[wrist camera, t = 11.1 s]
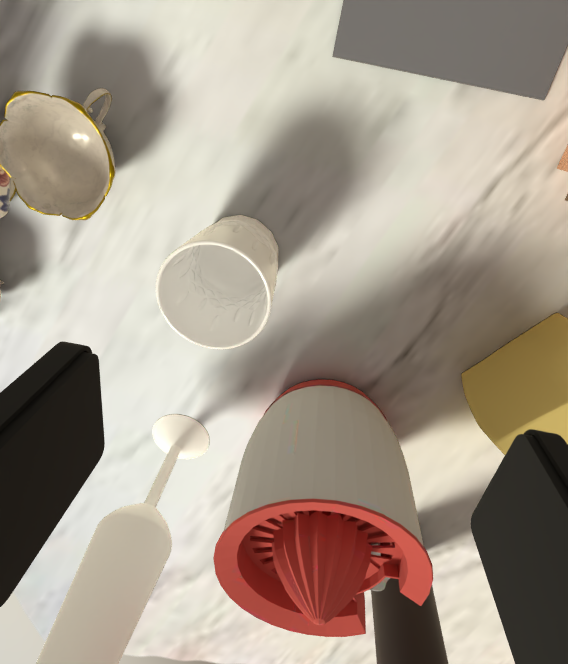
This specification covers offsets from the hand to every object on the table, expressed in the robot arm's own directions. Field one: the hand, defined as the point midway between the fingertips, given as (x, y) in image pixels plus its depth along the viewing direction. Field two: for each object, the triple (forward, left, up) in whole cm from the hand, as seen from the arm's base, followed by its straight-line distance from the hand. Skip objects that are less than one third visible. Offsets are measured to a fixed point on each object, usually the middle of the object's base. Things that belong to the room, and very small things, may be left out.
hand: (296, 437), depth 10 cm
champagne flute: (+29, -10, -28) cm, 42 cm away
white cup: (+6, -6, -28) cm, 30 cm away
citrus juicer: (+23, +6, -28) cm, 37 cm away
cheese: (+12, +23, -28) cm, 38 cm away
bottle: (+39, +18, -28) cm, 51 cm away
